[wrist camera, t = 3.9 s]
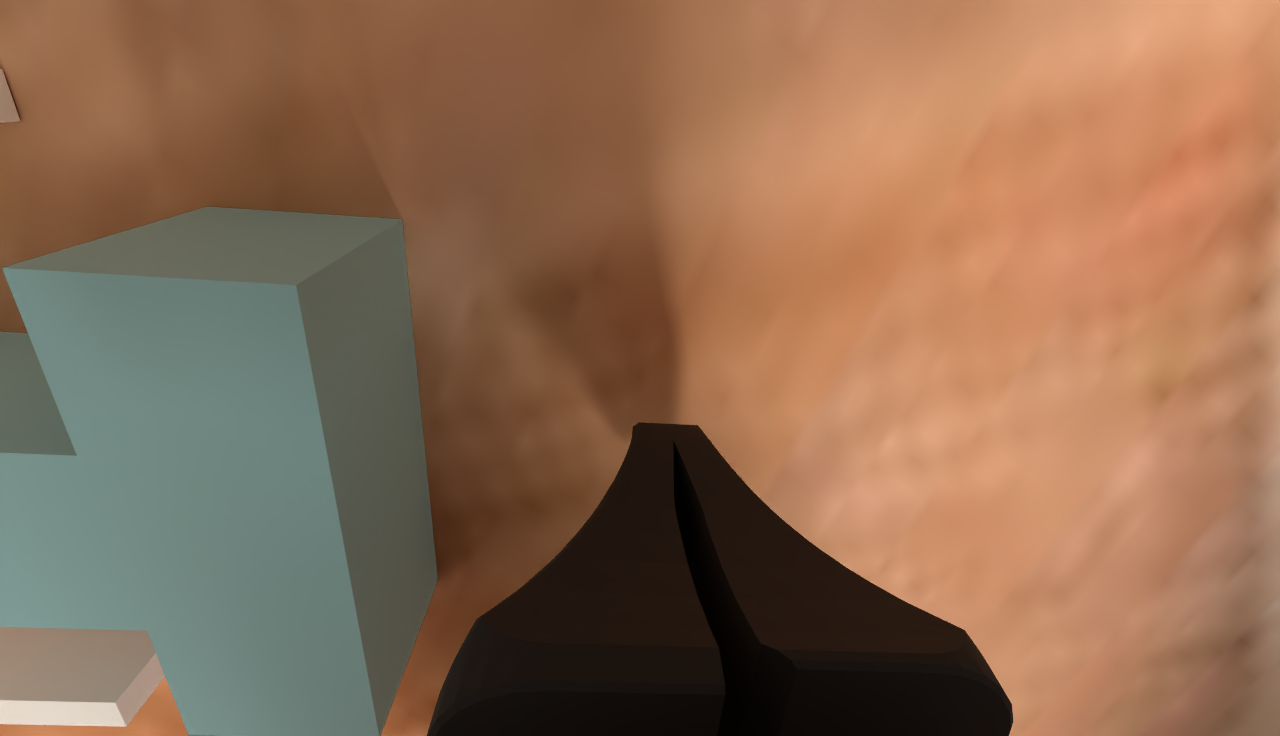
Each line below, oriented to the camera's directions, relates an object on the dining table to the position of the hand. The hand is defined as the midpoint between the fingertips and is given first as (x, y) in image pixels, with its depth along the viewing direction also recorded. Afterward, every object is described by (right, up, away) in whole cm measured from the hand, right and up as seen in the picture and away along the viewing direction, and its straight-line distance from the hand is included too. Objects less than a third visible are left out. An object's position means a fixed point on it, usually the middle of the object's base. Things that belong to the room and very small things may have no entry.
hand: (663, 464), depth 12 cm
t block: (-10, +1, 0) cm, 10 cm away
